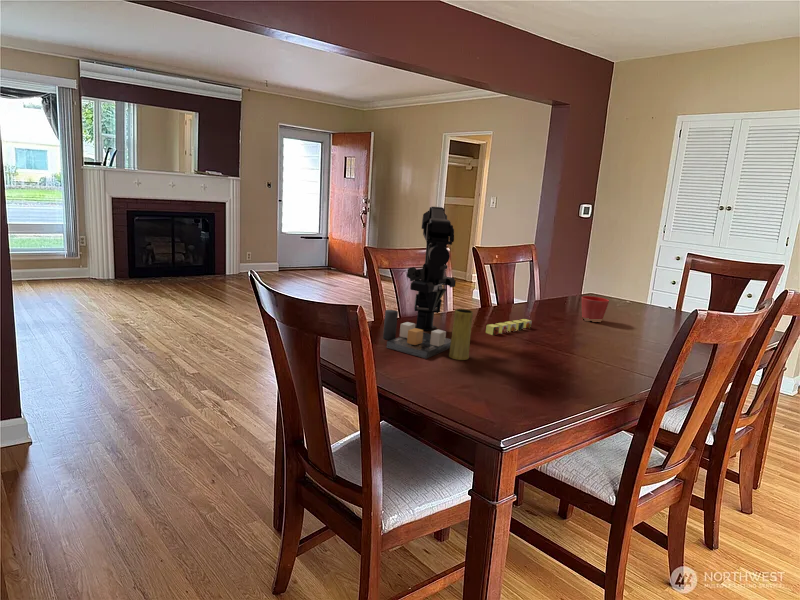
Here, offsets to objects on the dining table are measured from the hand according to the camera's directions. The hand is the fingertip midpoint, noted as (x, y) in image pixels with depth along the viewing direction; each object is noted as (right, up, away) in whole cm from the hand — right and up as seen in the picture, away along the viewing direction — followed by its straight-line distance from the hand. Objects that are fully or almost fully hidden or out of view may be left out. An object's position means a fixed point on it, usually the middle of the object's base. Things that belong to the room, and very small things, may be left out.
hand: (431, 310), depth 165 cm
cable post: (-13, -9, +5) cm, 17 cm away
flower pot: (+71, -6, +58) cm, 92 cm away
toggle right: (+2, -10, -4) cm, 11 cm away
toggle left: (-8, -8, +2) cm, 11 cm away
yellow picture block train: (+32, -9, +29) cm, 44 cm away
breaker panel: (-3, -11, -1) cm, 12 cm away
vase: (+8, -14, -7) cm, 17 cm away
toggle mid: (-5, -10, -5) cm, 12 cm away
